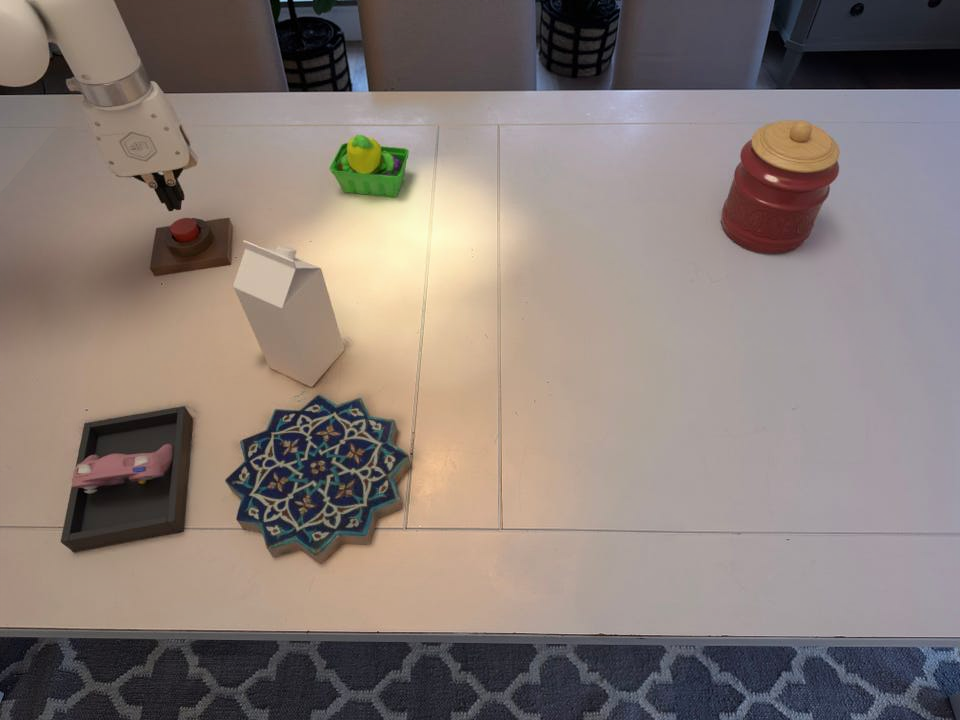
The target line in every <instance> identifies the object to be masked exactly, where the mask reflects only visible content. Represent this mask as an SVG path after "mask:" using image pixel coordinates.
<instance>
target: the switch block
mask: <svg viewBox="0 0 960 720" xmlns="http://www.w3.org/2000/svg"><path fill="white" fill-rule="evenodd" d="M190 218H191V219H193V220H194V221H195V222H196V224H197V226H198V229H199V231H200V234H199V235H198V236H197V238H195V239H193V240H191V241H189V242H182V243H181V242H178V241H176V240H175V238H174V236H173V234H172V232H171V225H167V226H161V227H156V228H155V232H154V240H153V246H152V251H151V258H150V265H149V269H150V271H151V273H152V275H153V276H154V277H160V276H167V275H173V274H179V273H185V272H193V271H200V270H205V269H212V268H218V267H219V268H221V267H225V266H231V265H232V248H233V247H232V246H233V245H232V244H233V223H232V221H231V218H230V217H222V218H215V219H210V220H204V219H201V218H195V217H190Z"/></svg>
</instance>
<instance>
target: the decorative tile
mask: <svg viewBox="0 0 960 720" xmlns="http://www.w3.org/2000/svg"><path fill="white" fill-rule="evenodd" d="M397 431H398V428H397V422H396V420H395V419H391V418H384V417H376V416H371V415H370V414H369V411H368V409H367V407H366V405H365V403H364V401H363V398H362V397H357V398H354V399H351V400H348V401H345V402H342V403H339V404H335V403H334V402H332V401H331V400H330V399H328V398H326V397H325V396H323V395H322V394H321V393H318V394H317V395H316V396H315V397H313V398H312V399H311V400H309V402H307V403H306V404H305V405H304V406H303V407H301V408H300V409H299V410H297V409H285V408H283V409H282V408H275V409H274V410H273V412H272V415H271V418H270V419H269V422H268V424H267V427H266V429H265V430H263V431H261V432H258V433H256V434H253V435H250V436H248V437H245V438H243V439H240V441H239V444H240V448H241V451H242V455H243V459H244V461H243V462H242V463H241V464H240V465H239V466H237V468H236V469H235V470H234V471H232V472H231V473H230V474H229V475H228V476H227V477H226V478H225V484H226V485H227V486H228V487H229V489H230V491H231V492H232V493H233V494H234V495H236V496H237V497H238V498H239V499H240V502H239V506H238V510H237V513H236V518H235V519H236V521H237V522H238V524H239V525H240V527H241V528H242V530H246V531H250V532H255V533H260V534H262V537H263V540H264V544H265V547H266V550H267V551H268V552H269V554H270V556H271V557H272V558H278V557H280V556H281V557H282V556H283V555H287V554H290V553H294V552H297V551H302V552H304V553H305V554H306V555H307V556H309V557H310V558H311V559H312V560H313V561H315V562H317V563H318V564H319V565H322V564H324V562H326V560H327V559H328V558H329V557H330V556H332V555H333V554H334V553H335V552H336V551H337V550H338V549H339V548H340V547H341V546H342V545H345V544H349V545H350V544H351V545H370V544H371V543H372V540H373V536H374V532H375V528H376V525H377V521H378V519H380V518H383V517H386V516H387V515H390V514H392V513H395V512H397V511H400V510H402V509H403V503H402V499H401V496H400V493H399V491H398V488H397V484H398V483H399V481H400V480H401V479H402V478H403V477H404V475H405V474H406V473H407V472H408V471H409V469H410V468H411V467H412V464H411V459H410V455H409V454H408V453H407V452H406V451H405V450H403V449H402V448H400V447H398V446H397V445H396V444H395V443H396V440H397V436H398V432H397ZM396 435H397V436H396Z"/></svg>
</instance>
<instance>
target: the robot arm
mask: <svg viewBox="0 0 960 720" xmlns="http://www.w3.org/2000/svg"><path fill="white" fill-rule="evenodd" d="M117 6H118V5H117V4H116V2H115V0H0V86H3V87H11V88H12V87H13V88H16V87H25V86H29V85H32V84H34V83H36V82H38V80H40V79H41V78H42V77H43V76H44V75H45V73H46V72H47V70H48V67H49V64H50V59H51V58H50V57H51V55H50V46H49V43H54V44H55V45H57V47H58V48H59V50H60V52H61V54H62V55H63V58H64V60H65V61H66V63H67V65H68V66H69V69H70V70H71V72H72V74H73V76H72V77H71V78H66V79H65V84H66V87H67V89H68V90H69V91H70V92H74V91H76V92H80V93H81V95H82V96H83V99H82V102H81V107H82V110H83V113H84V116H85V119H86V122H87V124H88V127H89V130H90V132H91V135H92V137H93V139H94V143H95V144H96V147H97V149H98V151H99V154H100V155H101V157H102V159H103V161H104V163H105V165H106V166H107V169H108V170H109V171H110V173H111V174H112V175H115V176H116V177H118V178H130V179H132V178H133V179H136V180H138V181H140V182H142V183H144V184H146V185H147V186H148V188H150V189H152V190H154V192H155V194H156V195H157V198H158V200H159V201H160V203H161V204H162V205H163V204H164V205H165V208H166V209H167V211H168V212H173V211H174V210H175V211H181V210H182V204H183V201H185V191H184V190H183V188H182V185H181V183H180V181H179V180H178V179H179V177H180V176H181V175H182V173H183V171H184V170H188V169H191V168H194V167H197V165H198V160H199V157H198V156H197V154H196V153H195V152H194V150H193V149H192V148H191V141H190V137H189V135H188V133H187V131H186V129H185V127H184V125H183V123H182V121H181V118H180V117H179V115H178V114H177V111H176V110H175V109H174V106H173V105H172V103H171V102H170V101H169V99H168V97H167V96H166V94H165V93H164V91H163V89H162V88H161V87H160V86H159V85H158V83H157V82H155V80H150V77H149V75H148V72H147V70H146V69H145V65H144V64H143V62H142V59H141V58H140V55H139V53H138V51H137V48H136V46H135V44H134V42H133V40H132V38H131V35H130V33H129V31H128V28H127V26H126V24H125V22H124V20H123V17H122V15H121V13H120V10H119V9H118V7H117ZM160 173H162V174H160Z"/></svg>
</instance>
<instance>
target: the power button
mask: <svg viewBox="0 0 960 720" xmlns="http://www.w3.org/2000/svg"><path fill="white" fill-rule="evenodd" d="M191 218H192V217H182V218H179V219H177V220H175V221H173V222H172V223H171V224H170V226H171V232H172V234H173V236H174V238H175V240H176V241H178V242H181V243H182V242H189V241H191V240H193V239H195V238H197V236H198V235H199V234H200V231H199V229H198V226H197V224H196V222H195V221H194V220H193V219H191Z"/></svg>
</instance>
